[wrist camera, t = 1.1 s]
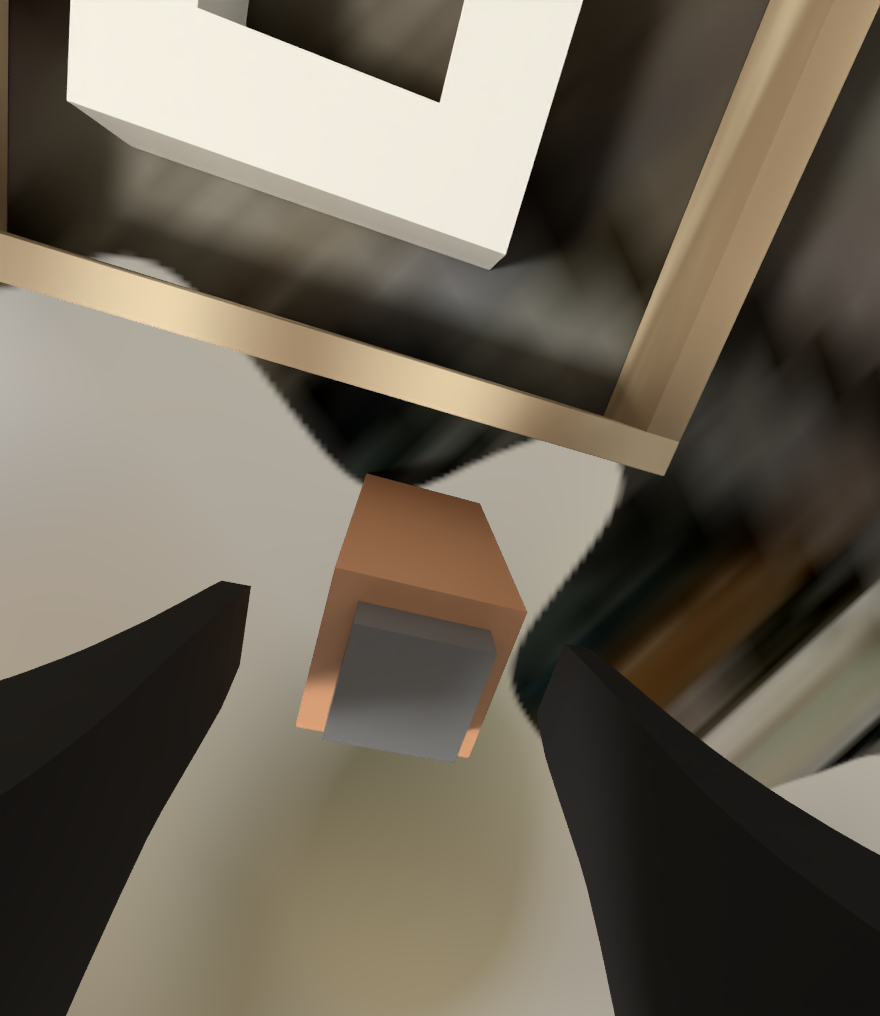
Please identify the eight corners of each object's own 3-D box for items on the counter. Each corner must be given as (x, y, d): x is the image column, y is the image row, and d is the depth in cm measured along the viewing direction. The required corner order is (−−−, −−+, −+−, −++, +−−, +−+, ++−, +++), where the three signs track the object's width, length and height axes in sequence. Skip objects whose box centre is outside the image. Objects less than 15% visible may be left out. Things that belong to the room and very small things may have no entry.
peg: (479, 503, 16) (537, 634, 9) (446, 601, 17) (472, 788, 10) (366, 473, 16) (328, 587, 8) (340, 577, 17) (286, 756, 10)
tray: (887, -186, 11) (1050, -367, 8) (618, 452, 16) (663, 476, 13) (-50, -722, 8) (-292, -1286, 5) (-33, 259, 13) (-157, 235, 10)
